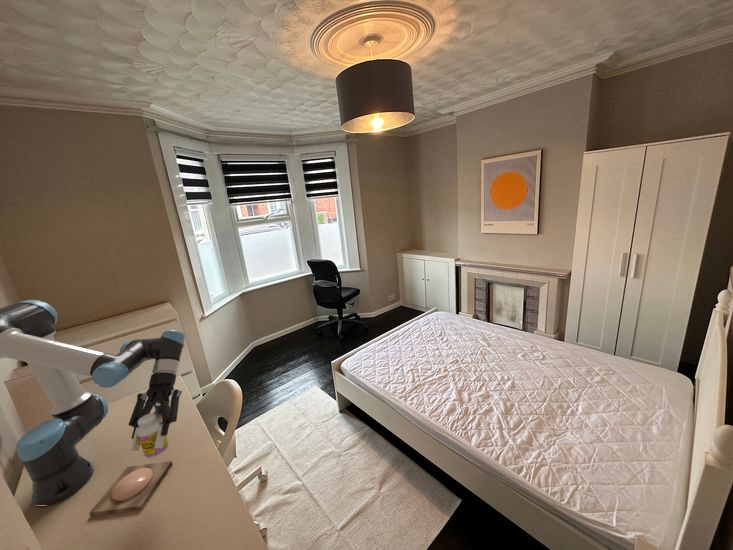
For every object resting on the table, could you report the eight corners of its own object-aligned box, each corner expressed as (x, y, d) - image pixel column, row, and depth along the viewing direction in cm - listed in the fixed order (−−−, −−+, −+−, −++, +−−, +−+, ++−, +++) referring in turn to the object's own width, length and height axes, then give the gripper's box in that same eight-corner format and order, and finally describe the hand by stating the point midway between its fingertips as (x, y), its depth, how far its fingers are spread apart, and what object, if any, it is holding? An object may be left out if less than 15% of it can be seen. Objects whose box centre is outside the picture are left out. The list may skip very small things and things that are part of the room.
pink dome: (103, 503, 93) (102, 501, 93) (129, 472, 104) (128, 470, 103) (138, 498, 93) (137, 496, 93) (160, 468, 104) (159, 465, 103)
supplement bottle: (141, 462, 92) (129, 428, 89) (150, 446, 98) (139, 414, 95) (165, 455, 94) (153, 422, 90) (172, 440, 100) (162, 408, 97)
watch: (174, 406, 139) (168, 386, 137) (155, 417, 133) (148, 396, 130) (170, 402, 143) (163, 383, 140) (151, 412, 137) (143, 392, 134)
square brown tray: (90, 516, 91) (88, 512, 90) (128, 470, 106) (127, 466, 106) (142, 509, 91) (140, 505, 91) (172, 464, 107) (171, 461, 106)
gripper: (198, 373, 107) (184, 445, 95) (143, 379, 106) (123, 452, 95) (186, 368, 100) (170, 446, 89) (128, 374, 100) (105, 453, 88)
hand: (146, 449), depth 92 cm, fingers closed on supplement bottle, 7 cm apart
